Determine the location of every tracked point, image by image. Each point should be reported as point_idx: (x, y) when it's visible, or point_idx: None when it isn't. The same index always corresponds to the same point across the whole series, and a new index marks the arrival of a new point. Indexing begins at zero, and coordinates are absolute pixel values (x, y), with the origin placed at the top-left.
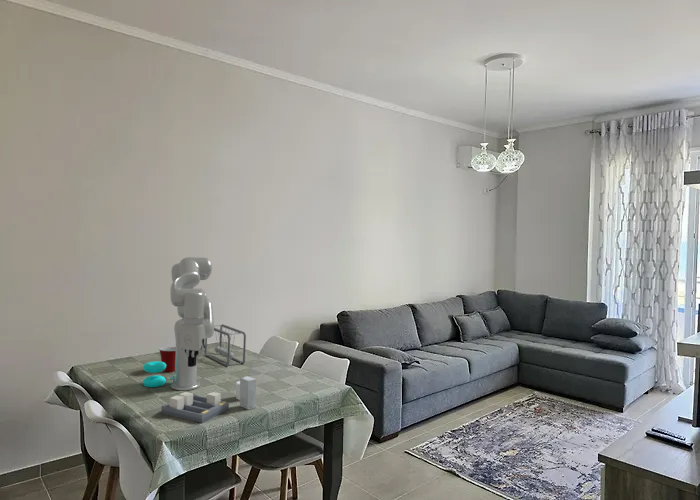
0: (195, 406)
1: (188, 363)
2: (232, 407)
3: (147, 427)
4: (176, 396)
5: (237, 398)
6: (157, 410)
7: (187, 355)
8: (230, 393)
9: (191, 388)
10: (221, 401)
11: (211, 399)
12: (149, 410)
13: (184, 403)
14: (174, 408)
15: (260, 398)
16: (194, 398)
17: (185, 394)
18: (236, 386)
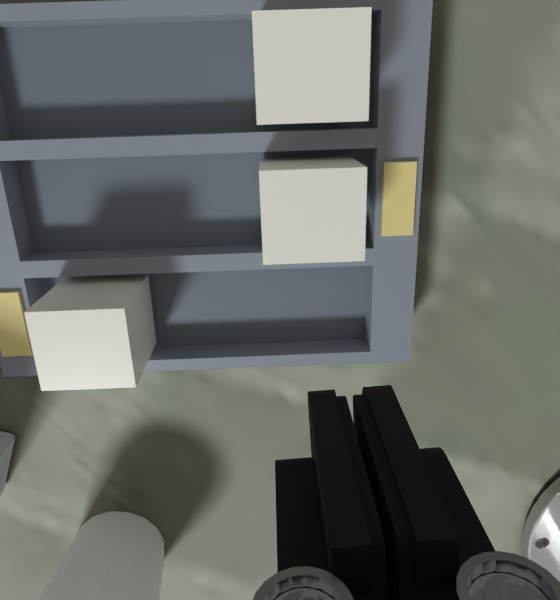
0: (147, 155)
1: (390, 419)
2: (40, 392)
3: None
4: (342, 94)
5: (126, 517)
6: (492, 44)
7: (524, 587)
8: (252, 567)
9: (540, 504)
10: None
11: (80, 296)
12: (556, 4)
13: (287, 161)
14: (271, 2)
15: (23, 589)
16: (347, 341)
17: (305, 196)
18: (112, 588)
